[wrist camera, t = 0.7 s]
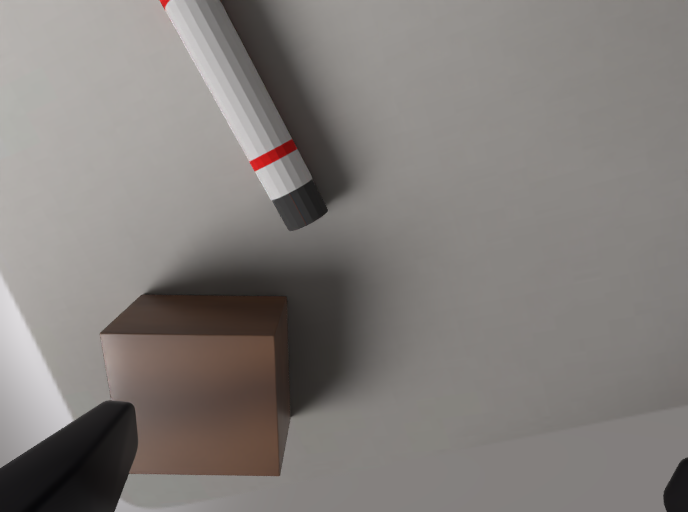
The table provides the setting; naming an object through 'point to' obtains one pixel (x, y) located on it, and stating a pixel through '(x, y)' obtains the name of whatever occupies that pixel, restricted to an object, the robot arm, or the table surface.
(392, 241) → the table surface
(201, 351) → the block
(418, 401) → the table surface
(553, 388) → the table surface
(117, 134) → the table surface
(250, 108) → the marker
